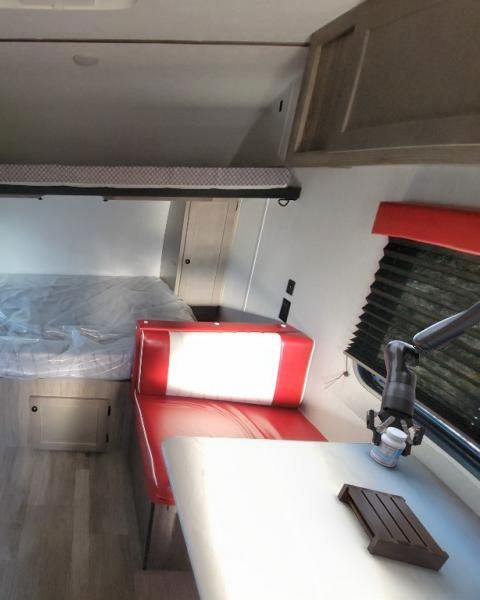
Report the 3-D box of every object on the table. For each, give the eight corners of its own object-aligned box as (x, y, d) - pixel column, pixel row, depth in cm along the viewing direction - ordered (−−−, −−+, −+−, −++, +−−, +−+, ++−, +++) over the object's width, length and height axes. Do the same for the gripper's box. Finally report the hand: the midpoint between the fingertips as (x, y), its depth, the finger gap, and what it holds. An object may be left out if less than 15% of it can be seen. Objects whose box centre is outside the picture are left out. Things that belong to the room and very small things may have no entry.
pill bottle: (385, 454, 108) (401, 427, 104) (399, 469, 102) (416, 441, 98) (365, 450, 108) (380, 423, 104) (377, 465, 103) (393, 437, 99)
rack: (394, 509, 89) (402, 496, 87) (438, 571, 75) (449, 556, 73) (337, 496, 91) (344, 483, 89) (369, 553, 77) (379, 539, 75)
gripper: (375, 388, 107) (366, 438, 102) (434, 406, 101) (428, 461, 95) (365, 393, 114) (356, 441, 108) (420, 411, 107) (414, 463, 102)
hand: (390, 450), depth 102 cm, fingers closed on pill bottle, 6 cm apart
